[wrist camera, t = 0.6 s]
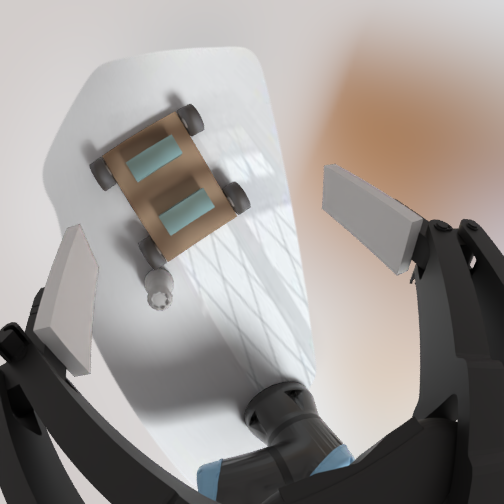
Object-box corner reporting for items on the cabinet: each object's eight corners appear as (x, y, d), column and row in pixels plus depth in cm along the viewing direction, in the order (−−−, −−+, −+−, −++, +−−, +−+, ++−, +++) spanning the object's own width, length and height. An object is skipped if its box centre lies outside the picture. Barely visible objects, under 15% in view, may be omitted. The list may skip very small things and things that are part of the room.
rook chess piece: (138, 285, 39) (135, 305, 32) (154, 261, 39) (154, 276, 32) (163, 301, 41) (165, 324, 33) (179, 278, 41) (184, 296, 34)
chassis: (245, 208, 42) (255, 210, 38) (156, 267, 39) (156, 275, 35) (186, 107, 36) (190, 97, 32) (92, 165, 33) (85, 161, 29)
